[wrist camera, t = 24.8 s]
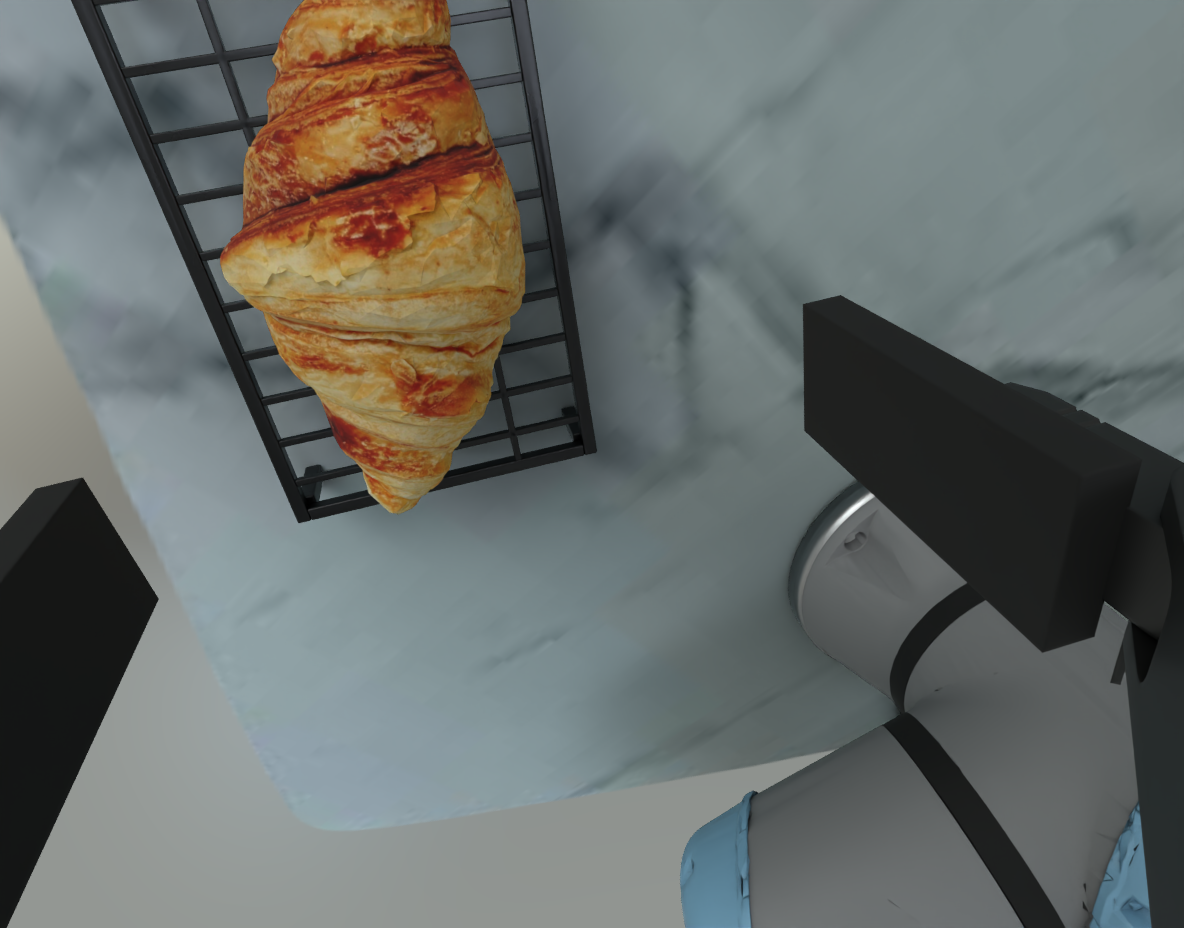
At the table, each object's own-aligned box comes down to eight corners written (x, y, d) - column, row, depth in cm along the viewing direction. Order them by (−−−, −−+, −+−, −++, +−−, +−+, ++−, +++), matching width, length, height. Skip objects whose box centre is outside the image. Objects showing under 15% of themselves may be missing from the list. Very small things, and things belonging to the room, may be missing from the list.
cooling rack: (581, 420, 37) (597, 452, 34) (306, 484, 36) (298, 524, 33) (493, -118, 26) (505, -140, 23) (81, -63, 24) (36, -78, 21)
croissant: (461, 447, 36) (561, 522, 31) (255, 513, 30) (337, 618, 25) (444, -75, 26) (592, -89, 21) (122, -130, 20) (217, -169, 15)
